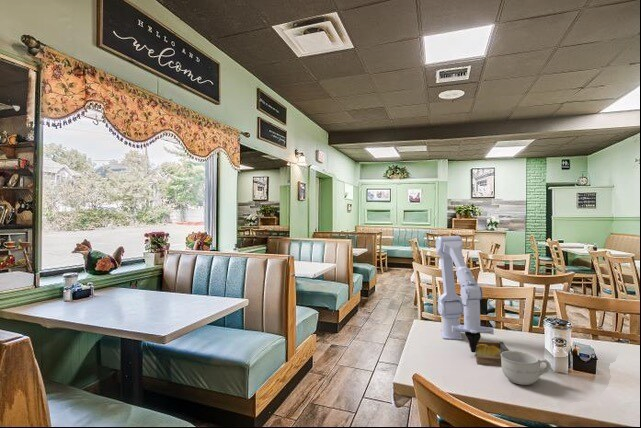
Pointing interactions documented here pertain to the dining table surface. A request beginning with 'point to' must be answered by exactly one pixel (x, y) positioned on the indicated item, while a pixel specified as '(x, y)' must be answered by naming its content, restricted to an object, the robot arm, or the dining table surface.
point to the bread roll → (487, 350)
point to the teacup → (522, 367)
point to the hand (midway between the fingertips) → (472, 351)
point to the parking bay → (490, 359)
